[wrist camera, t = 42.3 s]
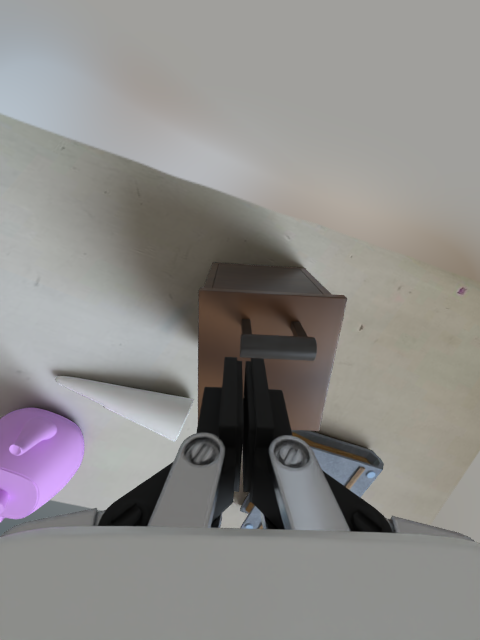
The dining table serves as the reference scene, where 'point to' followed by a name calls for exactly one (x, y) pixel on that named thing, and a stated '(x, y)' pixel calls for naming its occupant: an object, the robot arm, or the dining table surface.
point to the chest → (263, 278)
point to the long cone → (136, 404)
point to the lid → (272, 343)
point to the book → (330, 468)
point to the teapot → (35, 459)
